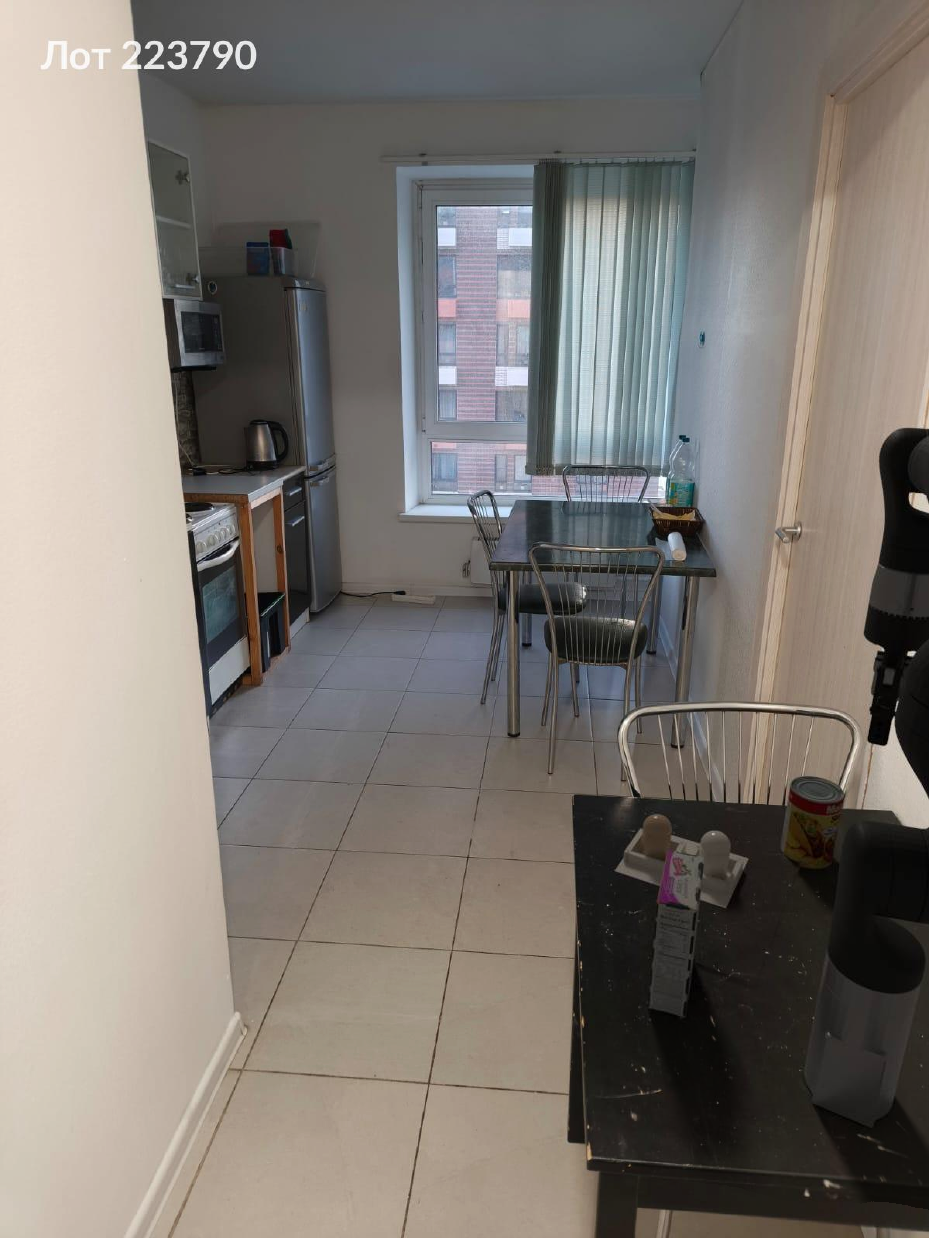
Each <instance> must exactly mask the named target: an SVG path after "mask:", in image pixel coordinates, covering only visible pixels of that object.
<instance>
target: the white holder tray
mask: <svg viewBox="0 0 929 1238" xmlns="http://www.w3.org/2000/svg"><path fill="white" fill-rule="evenodd" d="M642 832H643V828H641V827H640V828H639V830H638V831H637V833H636V834H635V836H634V837H633V839H632V840H631V842H630V843H629V844H628V845H627V846H626V848H625V849H624V852H623V858H622V860H620V862H619V864H618V865H617V867H616V869H614V872H616V873H619V874H622V875H626V876H628V877H631V878H634V879H637V880H640V881H643V882H646V883H649V884H651V885H655V886H657V887H660V885H661V880H662V875H663V870H664V865H665V862H664V861H661V860H658V859H655V858H651V857H648V856H645V855H642V854H641V843H642ZM670 851H677V852H679V853H686V854H690V855H696V856H699V851H700V843H699V842H695V841H692V840H689V839H685V838H683V837H679V836H676V835H672V834H671V842H670ZM748 861H749V858H748V857H744V856H741V855H739V854H735V853H732V852H730V856H729V863H728V870H727V877H726V879H725V880H724V881H723V880H720V879H717V878H714V877H711V876H707V875H704V874H703V878H702V887H701V896H700V901H703V902H705V903H709V904H711V905H715V906H718V907H721V908H723V909H727V906H728V904H729V902H730V900H731V898H732V896H733V895H734V894H733V893H734V891H735V889H736V887H737V885H738V883H739V881H740V878H741V876H742V874H743V872H744V870H745V868H746V866H747V863H748Z"/></svg>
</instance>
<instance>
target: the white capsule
mask: <svg viewBox="0 0 929 1238" xmlns="http://www.w3.org/2000/svg"><path fill="white" fill-rule="evenodd" d="M699 844H700V851H699V856H701V857H704V868H703V874H704V875H707V876H711V877H714V878H717V879H720V880H723V881H724V880H725V879H726V877H727V870H728V863H729V856H730V853H731V848H732V847H731V846H732V845H731V841H730V838H728V836H727V835H726V834H725V833H724V832H722V831H720V830H710V831H708V832H706V833H704V835H703V836H702V838H701V839H700V843H699Z"/></svg>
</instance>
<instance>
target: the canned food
mask: <svg viewBox="0 0 929 1238" xmlns="http://www.w3.org/2000/svg"><path fill="white" fill-rule="evenodd" d="M844 797H845V792H844V790H843V788H842V787H841V786H839V784H837V783H835V782H834V781H831V780H829V779H826V778H823V777H818V776H812V775H803V776H798V777H795V778H793V779H792V780H791V782H790V784H789V790H788V797H787V804H786V809H785V816H784V823H783V828H782V834H781V835H782V836H781V840H780V849H781V851H782V853H783V854H784V855H785V856H786V857H788V858H789V859H790V860H792V861H794V862H797V866H799V867H801V868H806V869H812V870H813V869H814V870H815V869H824V868H827V867H829V866H830V865H831V864H832V862H833V860H834V859H833V858H834V852H835V847H836V842H837V836H838V830H839V825H840V819H841V815H842V811H843V804H844Z"/></svg>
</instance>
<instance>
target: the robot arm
mask: <svg viewBox="0 0 929 1238" xmlns="http://www.w3.org/2000/svg"><path fill="white" fill-rule="evenodd" d="M878 453H879V454H878V467H879V475H880V476H879V477H880V480H881V481H880V482H881V488H882V495H883V496H882V497H883V506H884V522H883V523H884V525H883V533H882V540H881V546H880V552H879V556H878V562H877V566H876V570H875V573H874V576H873V578H872V581H871V582H872V583H871V589H870V594H869V599H868V606H867V611H866V616H865V617H866V618H865V622H864V628H863V636H864V638H865V639H866V640H867V641H868V642H869V643H871V644H873V645H875V646H879V647H881V648H882V649H883V650H877V652H876V656H875V657H874V662H873V665H872V666H873V678H872V682H871V687H870V694H871V695H872V702H871V706H869V708H868V709H869V710H868V711H869V715H871V717H870V720H869V721H870V722H869V727H868V732H867V736H866V737H867V742H868V743H869V744H871V745H875V746H876V745H877V746H881V747H886V746H887V745H888V744H889V739H890V732H891V728H892V723H893V719H894V723H893V724H894V730H895V734H896V738H897V741H898V743H899V745H900V749H901V751H902V753H903V755H904V756H905V759H906V761H907V762H908V764H909V766H910V768H911V769H912V772H913V773H914V775H915V776H916V778H917V779H918V781H919V783H920V784H921V786H922V788H923V790H924V792H925V794H926V796H927V799H928V800H929V512H928V511H927V512H926V511H923V510H920V509H918V508H915V507H914V506H912V504H911V503H910V494H922V495H924V496H926V497H925V498H926V501H927V503H928V504H929V428H921V427H902V428H898V429H896V430H894V431H892V432H891V433H890V434H889V435H888V436H887V437H886V438H885V440H884V441H883V443H882V444H881V448H880V449H879V452H878ZM910 652H914V655H908V653H910ZM840 851H841V852H840V857H839V858H840V859H839V869H838V875H837V886H836V893H835V898H834V899H835V901H834V905H833V912H832V917H831V924H830V931H829V936H828V937H829V938H828V941H827V947H826V953H825V958H824V963H823V968H822V973H821V977H820V978H821V979H820V983H819V989H818V992H817V993H818V994H817V999H816V1005H815V1011H814V1015H813V1021H812V1026H811V1031H810V1035H809V1036H810V1037H809V1041H808V1042H809V1043H808V1048H807V1053H806V1059H805V1065H804V1069H803V1071H804V1073H803V1075H804V1080H805V1083H806V1085H807V1087H808V1090H810V1091H809V1092H811V1095H812V1098H811V1103H812V1104H813V1105H816V1106H817V1107H821V1108H823V1109H824V1110H828V1111H830V1112H832V1113H835V1114H836V1115H837V1114H838V1115H839V1116H842V1117H844V1118H847V1119H849V1120H852V1121H854V1122H856V1123H859V1124H861V1125H863V1126H865V1127H868V1128H872V1129H873V1128H874V1126H875V1122H876V1121H877V1120H879V1119H881V1118H884V1117H885V1116H886V1115H887V1114H888V1113H889V1112H890V1110H891V1109H892V1107H893V1104H894V1099H895V1095H896V1091H897V1088H898V1082H899V1079H900V1073H901V1069H902V1066H903V1065H902V1064H903V1060H904V1056H905V1054H906V1053H905V1051H906V1048H907V1044H908V1039H909V1035H910V1031H911V1028H912V1027H911V1026H912V1023H913V1019H914V1013H915V1009H916V1007H917V1002H918V998H919V994H920V989H921V987H922V982H923V981H922V980H923V978H924V973H925V969H926V961H927V959H926V953H925V950H924V948H923V945H922V944H921V943H920V941H919V940H918V938H917V937H915V935H914V934H913V933H912V932H911V931H909V930H908V929H907V928H906V927H904V926H902V924H900V923H898V922H897V921H894V920H898V921H899V920H901V921H905V922H911V923H917V924H923V925H929V826H928V827H926V828H921V827H913V826H908V825H901V824H900V825H899V824H894V823H889V822H882V821H874V820H866V819H865V820H864V819H859V820H855V821H853V822H852V823H851V824H850V825H849V827H848V828H847V830H846V832H845V834H844V838H843V841H842V844H841V850H840ZM893 919H894V920H893Z"/></svg>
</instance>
